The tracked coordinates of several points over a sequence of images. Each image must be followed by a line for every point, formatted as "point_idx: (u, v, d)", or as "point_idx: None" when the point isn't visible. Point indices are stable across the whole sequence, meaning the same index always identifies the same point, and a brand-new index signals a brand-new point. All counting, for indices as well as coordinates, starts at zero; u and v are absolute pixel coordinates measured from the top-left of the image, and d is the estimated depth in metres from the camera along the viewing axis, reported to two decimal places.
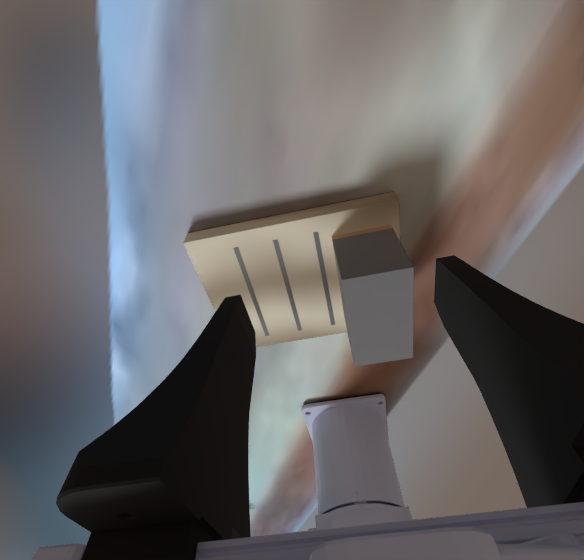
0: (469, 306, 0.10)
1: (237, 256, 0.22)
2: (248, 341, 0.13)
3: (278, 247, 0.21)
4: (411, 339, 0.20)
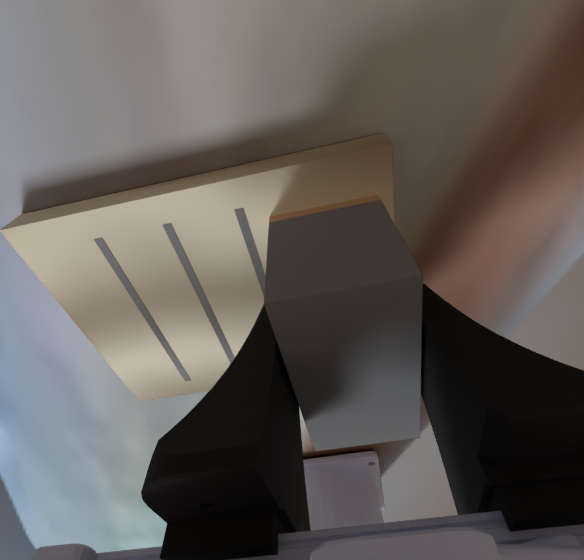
0: None
1: (105, 254, 0.12)
2: None
3: (175, 238, 0.12)
4: (417, 410, 0.11)
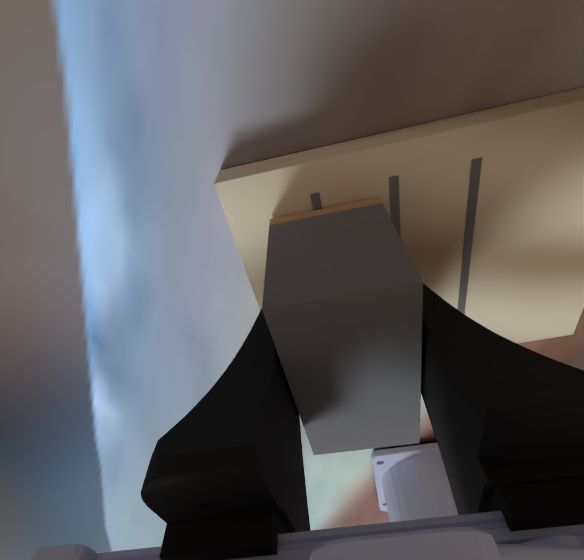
0: None
1: None
2: None
3: (396, 193, 0.11)
4: (416, 415, 0.11)
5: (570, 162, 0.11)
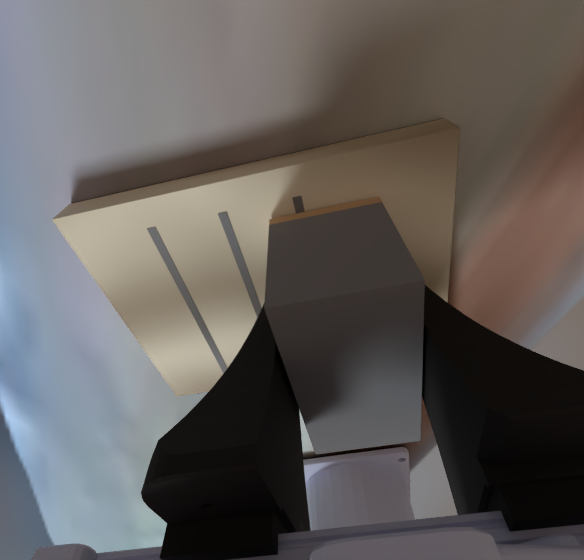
0: None
1: (157, 244, 0.12)
2: None
3: (229, 227, 0.12)
4: (418, 413, 0.11)
5: (387, 199, 0.11)
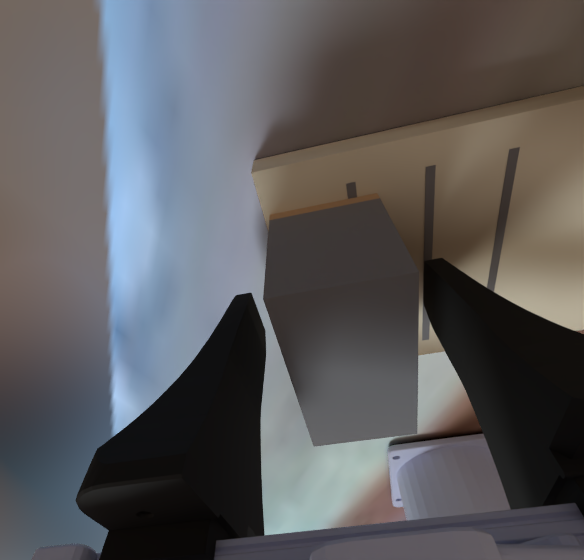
0: (455, 308, 0.10)
1: None
2: (259, 339, 0.13)
3: (432, 183, 0.11)
4: (414, 405, 0.11)
5: None
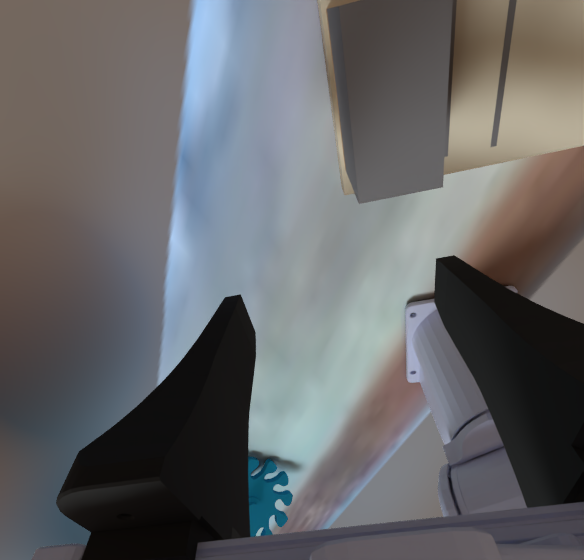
0: (469, 306, 0.10)
1: None
2: (248, 341, 0.13)
3: None
4: (442, 147, 0.14)
5: None
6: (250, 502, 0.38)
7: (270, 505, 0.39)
